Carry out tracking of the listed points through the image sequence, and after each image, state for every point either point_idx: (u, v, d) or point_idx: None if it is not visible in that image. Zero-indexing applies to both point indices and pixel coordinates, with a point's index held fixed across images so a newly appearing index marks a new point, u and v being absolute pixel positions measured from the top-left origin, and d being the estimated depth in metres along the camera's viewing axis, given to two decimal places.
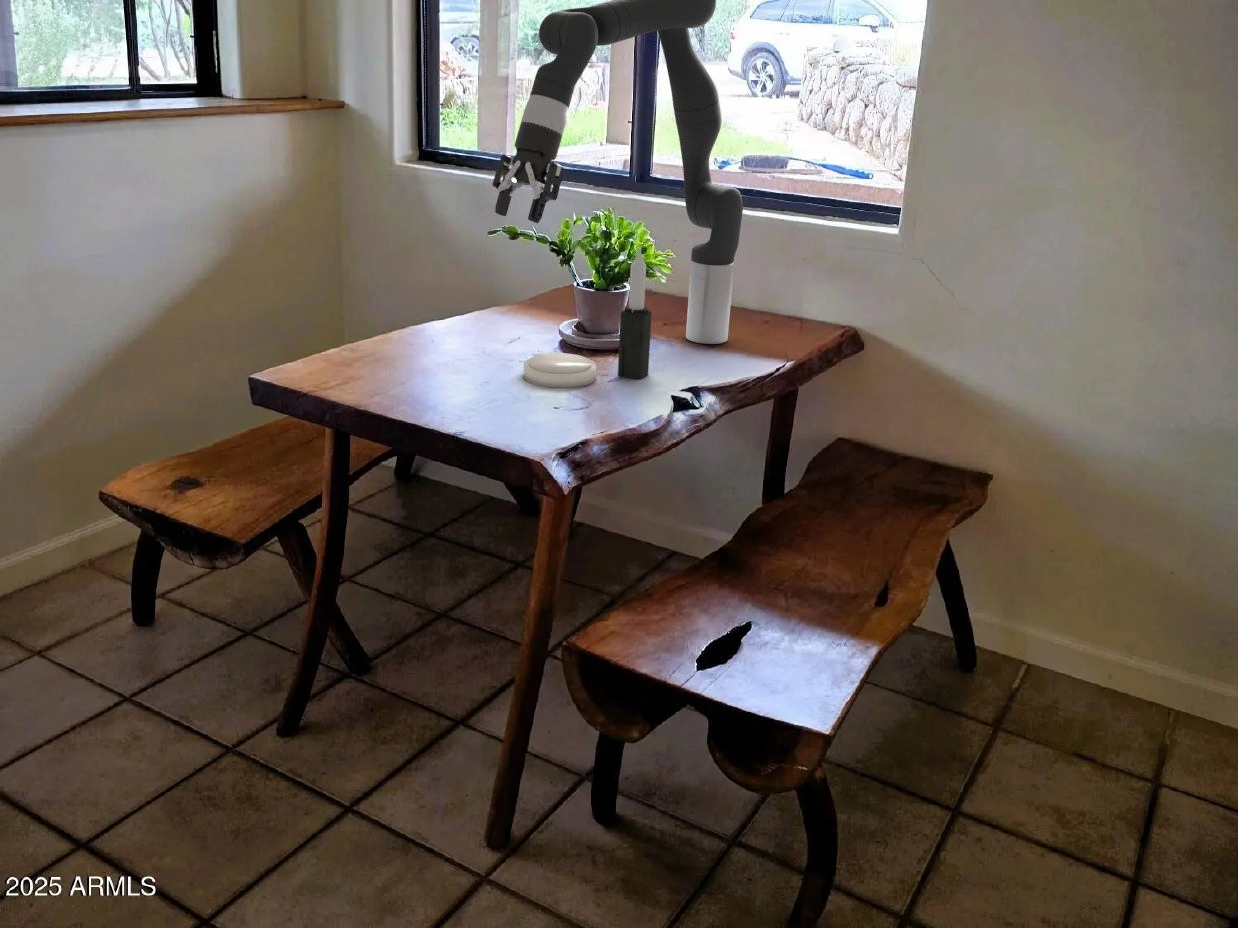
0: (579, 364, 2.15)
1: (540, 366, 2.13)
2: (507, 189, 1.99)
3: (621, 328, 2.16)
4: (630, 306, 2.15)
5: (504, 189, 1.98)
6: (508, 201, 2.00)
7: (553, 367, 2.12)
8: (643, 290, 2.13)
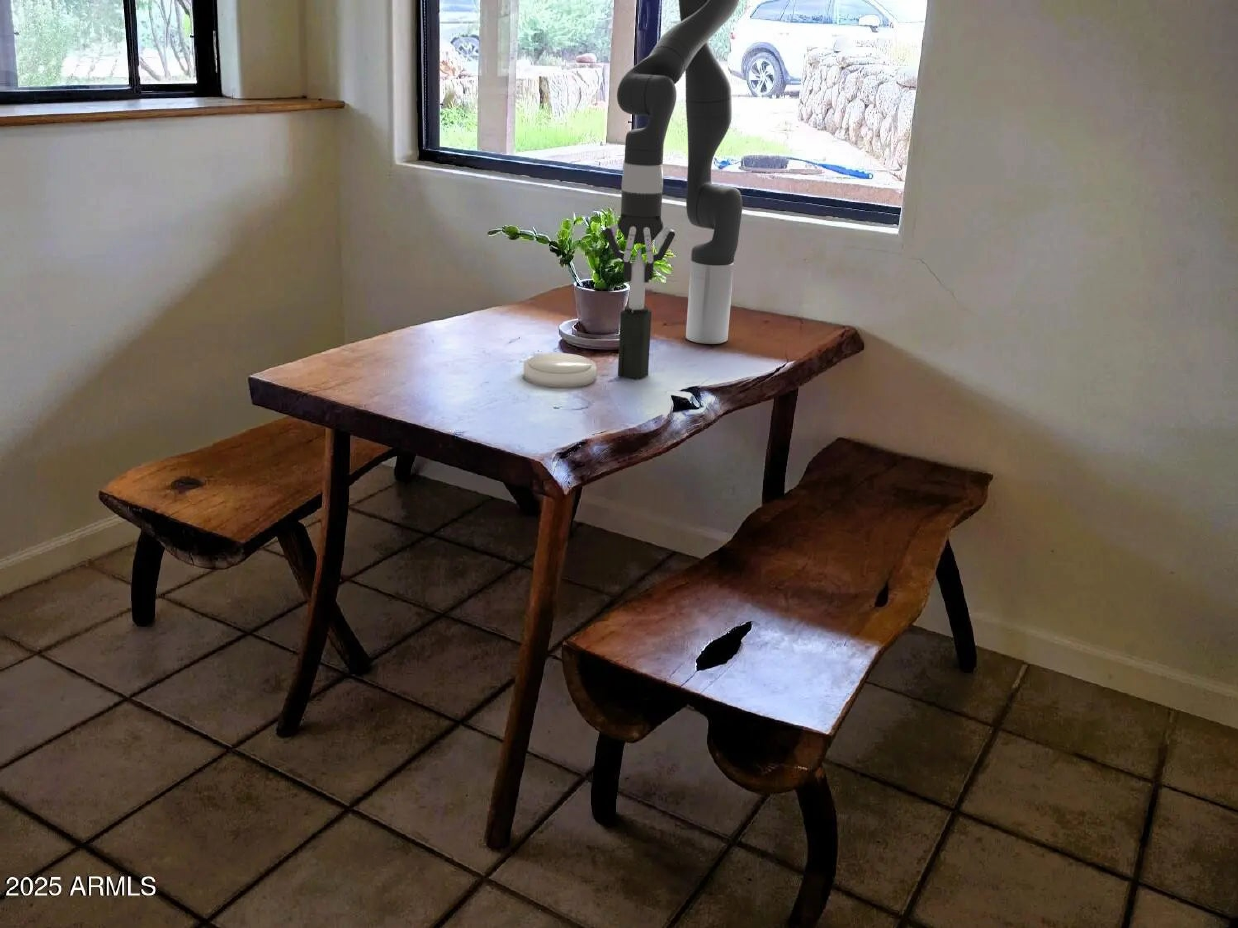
0: (579, 364, 2.15)
1: (540, 366, 2.13)
2: (630, 256, 2.12)
3: (621, 328, 2.16)
4: (630, 306, 2.15)
5: (630, 258, 2.11)
6: None
7: (553, 367, 2.12)
8: (643, 290, 2.13)
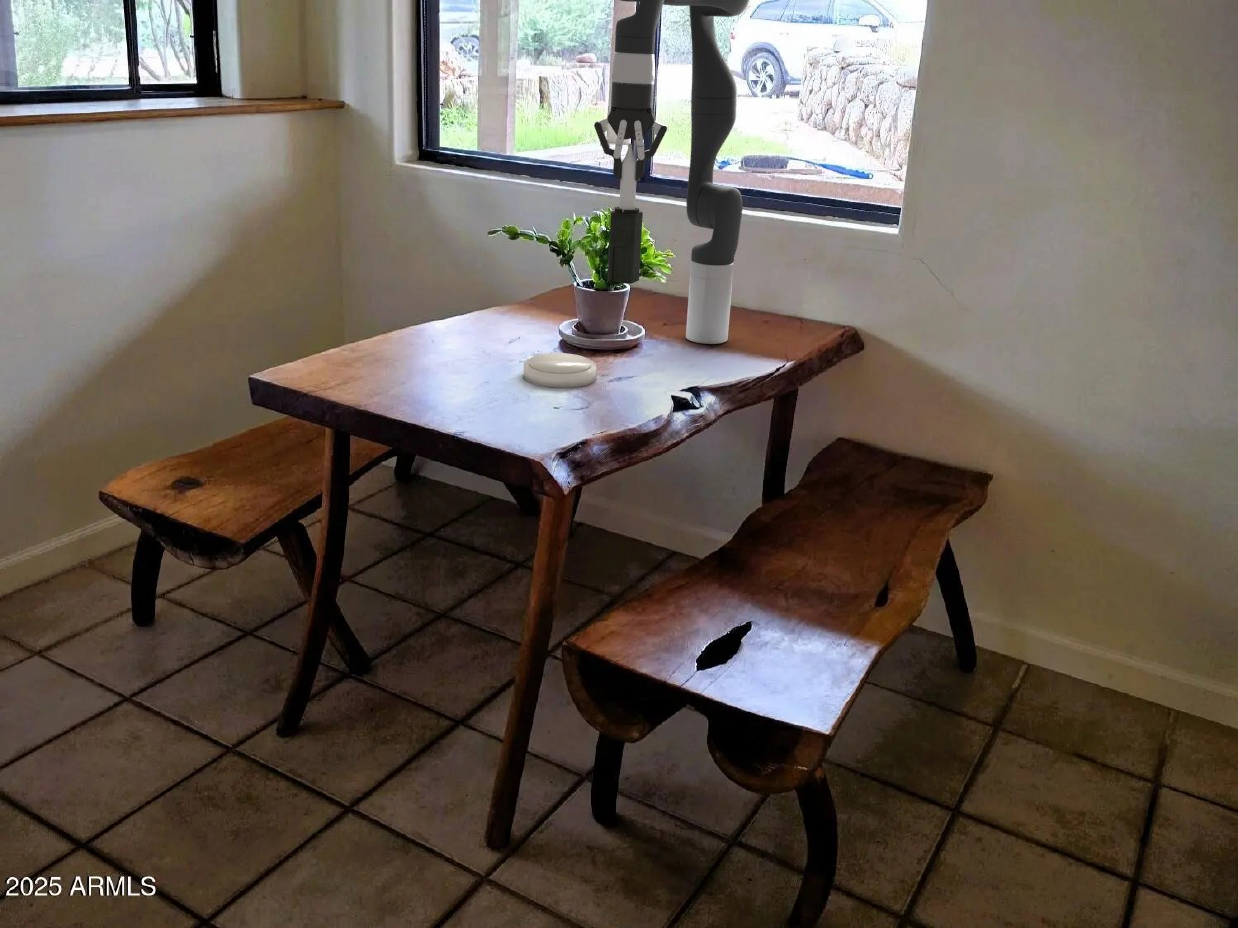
0: (579, 364, 2.15)
1: (540, 366, 2.13)
2: None
3: (611, 229, 2.08)
4: (620, 206, 2.07)
5: (620, 155, 2.04)
6: None
7: (553, 367, 2.12)
8: (634, 189, 2.06)
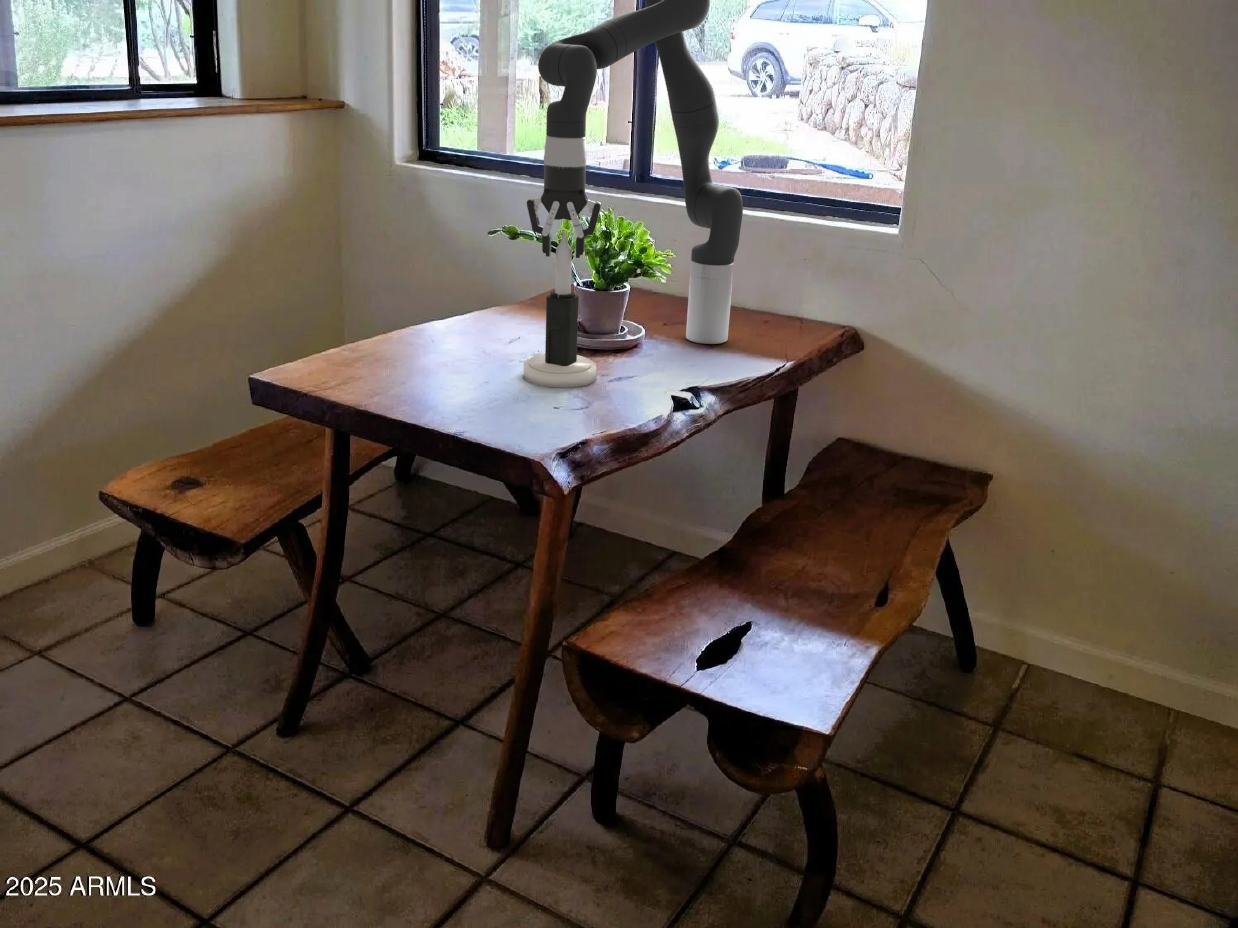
0: (579, 364, 2.15)
1: (540, 366, 2.13)
2: (549, 231, 2.07)
3: (547, 313, 2.11)
4: (556, 291, 2.10)
5: (549, 233, 2.06)
6: (550, 240, 2.08)
7: (553, 367, 2.12)
8: (569, 274, 2.09)
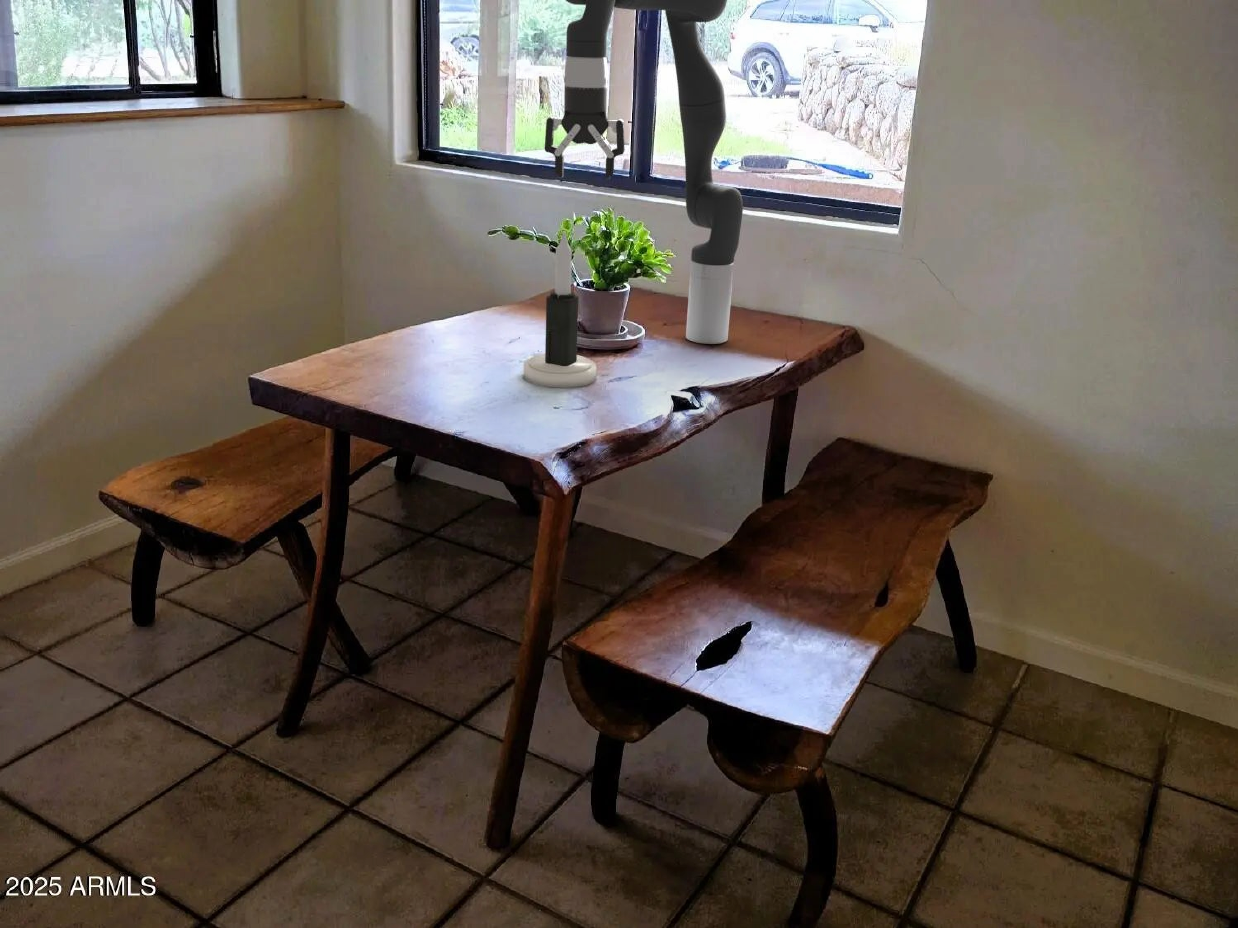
0: (579, 364, 2.15)
1: (540, 366, 2.13)
2: None
3: (547, 314, 2.11)
4: (556, 291, 2.10)
5: (561, 153, 2.02)
6: (563, 161, 2.04)
7: (553, 367, 2.12)
8: (569, 275, 2.09)
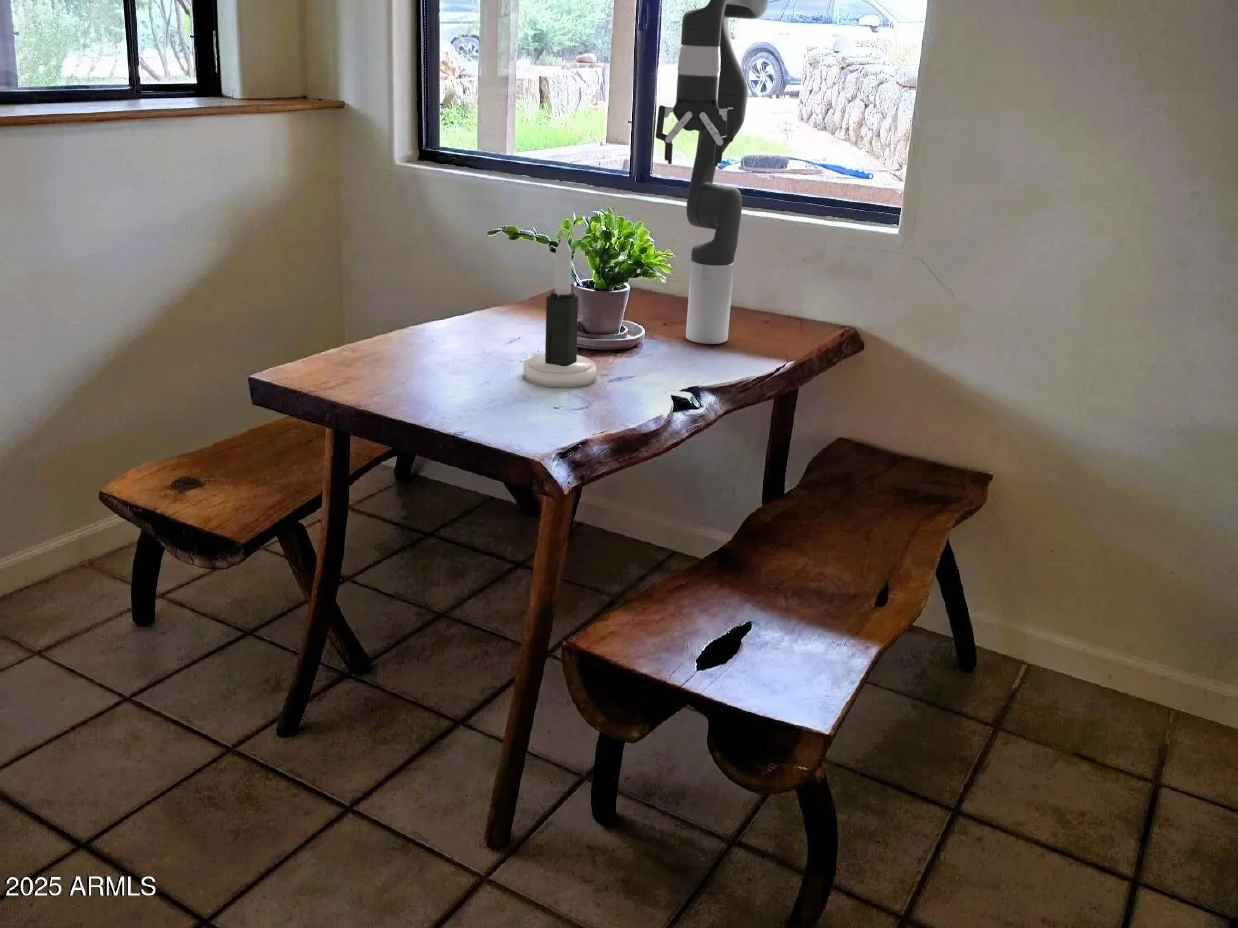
0: (579, 364, 2.15)
1: (540, 366, 2.13)
2: None
3: (547, 314, 2.11)
4: (556, 291, 2.10)
5: (672, 139, 2.07)
6: (672, 148, 2.09)
7: (553, 367, 2.12)
8: (569, 275, 2.09)
